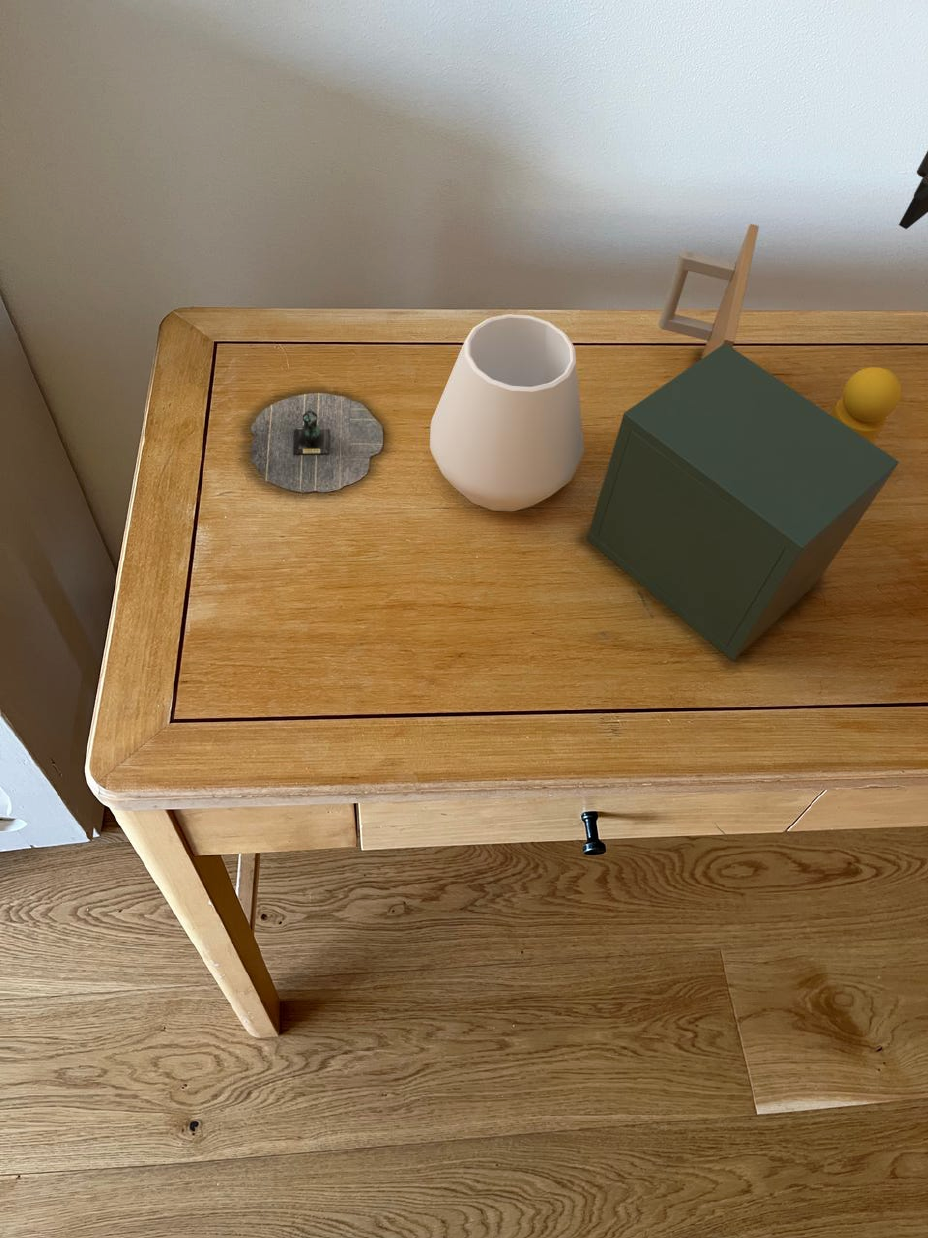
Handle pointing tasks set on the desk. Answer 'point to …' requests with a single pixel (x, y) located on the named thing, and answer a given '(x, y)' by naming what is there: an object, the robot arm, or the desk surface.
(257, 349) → the desk surface
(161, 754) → the desk surface
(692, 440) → the cabinet
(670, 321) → the cabinet door
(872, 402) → the toy
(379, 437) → the sculpture
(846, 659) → the desk surface
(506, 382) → the white tapered cylinder
